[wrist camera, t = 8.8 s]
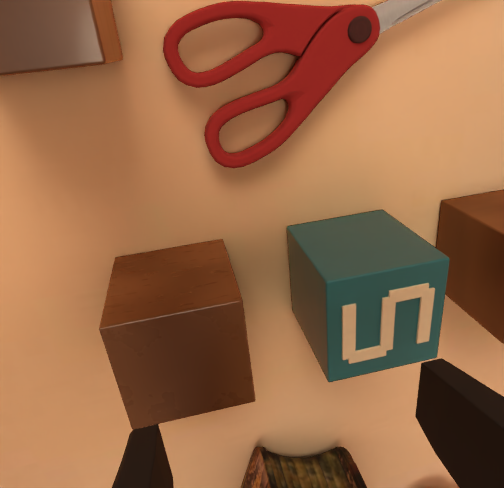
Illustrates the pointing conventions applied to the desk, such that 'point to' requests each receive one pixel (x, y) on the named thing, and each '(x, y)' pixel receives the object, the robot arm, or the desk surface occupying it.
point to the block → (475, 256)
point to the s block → (366, 292)
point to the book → (303, 471)
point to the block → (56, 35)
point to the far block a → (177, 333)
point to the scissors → (293, 42)
